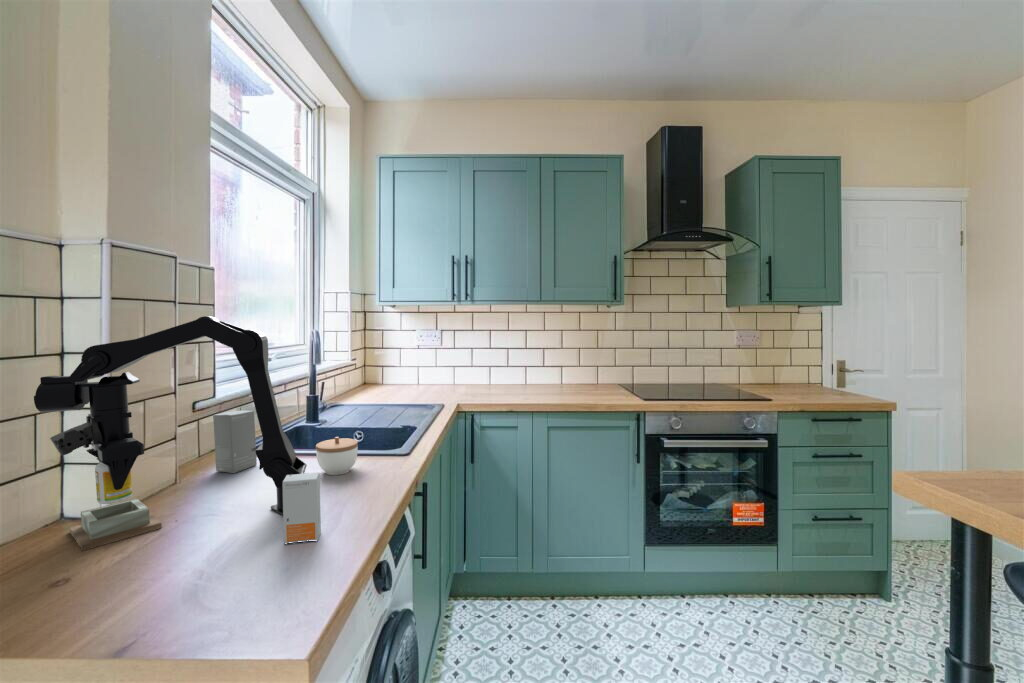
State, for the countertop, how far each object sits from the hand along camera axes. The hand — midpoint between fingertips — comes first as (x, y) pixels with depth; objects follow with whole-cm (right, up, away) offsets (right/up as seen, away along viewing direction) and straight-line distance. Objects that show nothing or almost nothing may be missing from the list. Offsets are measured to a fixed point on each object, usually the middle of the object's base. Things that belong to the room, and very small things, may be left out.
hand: (114, 486), depth 95 cm
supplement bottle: (0, -3, 0) cm, 3 cm away
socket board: (0, -9, 0) cm, 9 cm away
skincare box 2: (+39, -9, -4) cm, 40 cm away
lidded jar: (+31, -7, +35) cm, 48 cm away
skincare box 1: (+2, -7, +39) cm, 40 cm away
